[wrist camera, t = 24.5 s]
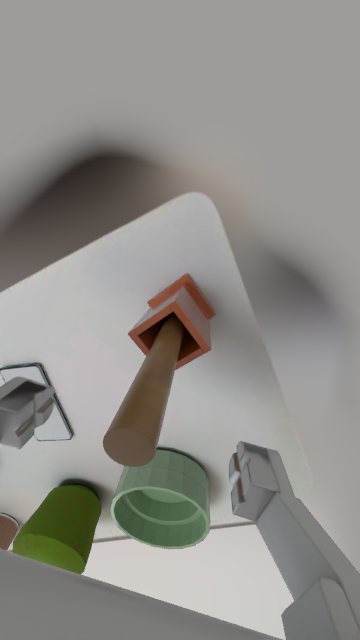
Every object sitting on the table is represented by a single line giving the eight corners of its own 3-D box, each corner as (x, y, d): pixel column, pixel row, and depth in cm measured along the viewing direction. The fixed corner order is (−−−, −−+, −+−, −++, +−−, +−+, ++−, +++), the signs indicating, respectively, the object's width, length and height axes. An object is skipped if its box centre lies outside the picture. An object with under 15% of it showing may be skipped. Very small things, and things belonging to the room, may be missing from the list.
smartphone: (36, 364, 30) (72, 439, 34) (39, 362, 30) (74, 437, 35) (-3, 368, 31) (37, 441, 35) (0, 366, 31) (39, 438, 36)
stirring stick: (192, 310, 24) (166, 457, 7) (179, 319, 25) (126, 473, 8) (182, 297, 24) (131, 420, 7) (169, 306, 24) (91, 440, 7)
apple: (85, 466, 37) (38, 552, 27) (121, 506, 40) (93, 597, 30) (39, 481, 41) (-19, 563, 30) (76, 517, 44) (35, 603, 33)
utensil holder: (215, 313, 25) (222, 351, 16) (176, 338, 26) (162, 385, 17) (187, 272, 23) (176, 289, 14) (148, 301, 25) (116, 331, 16)
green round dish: (225, 491, 35) (229, 537, 30) (159, 512, 40) (151, 556, 34) (174, 434, 32) (168, 473, 27) (108, 464, 36) (90, 504, 31)
